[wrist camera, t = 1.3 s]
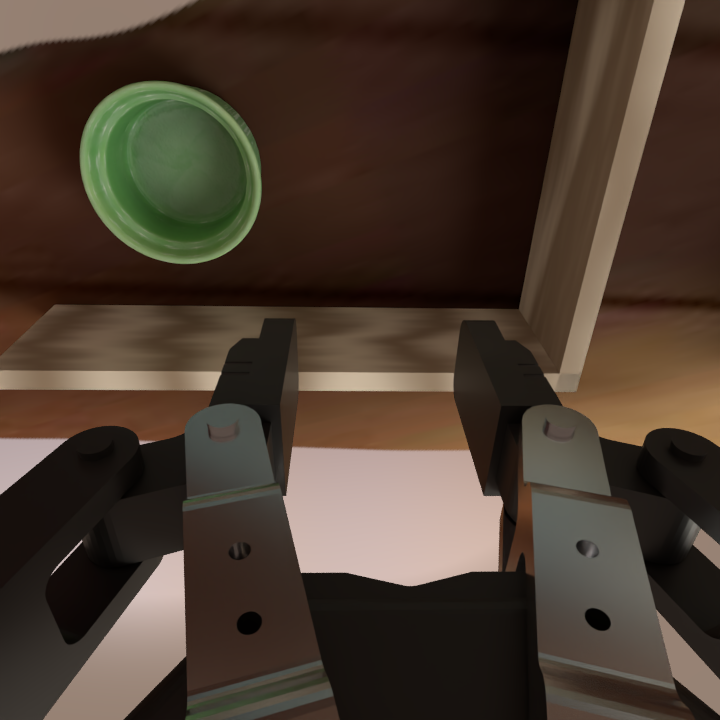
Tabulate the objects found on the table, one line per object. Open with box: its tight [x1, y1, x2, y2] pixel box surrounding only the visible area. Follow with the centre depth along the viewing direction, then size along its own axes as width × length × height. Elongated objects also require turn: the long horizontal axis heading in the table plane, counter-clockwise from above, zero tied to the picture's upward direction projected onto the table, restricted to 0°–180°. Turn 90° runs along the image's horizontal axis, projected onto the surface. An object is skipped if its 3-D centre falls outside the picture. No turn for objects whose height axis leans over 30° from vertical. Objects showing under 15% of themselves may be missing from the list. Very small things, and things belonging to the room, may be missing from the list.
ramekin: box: [80, 81, 262, 264], centre depth 29 cm, size 9×9×4 cm
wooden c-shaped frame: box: [0, 0, 685, 392], centre depth 28 cm, size 32×20×8 cm, turn 89°
